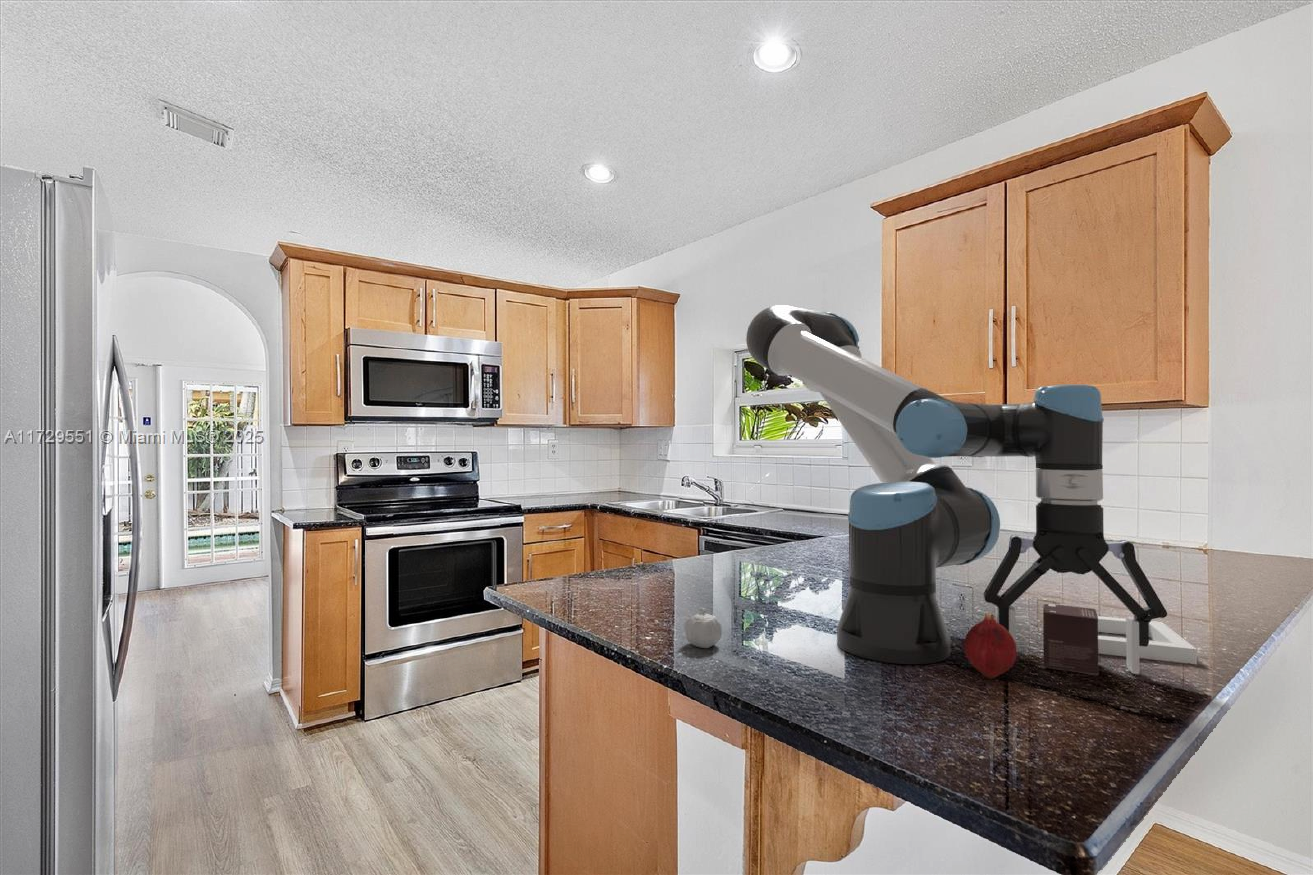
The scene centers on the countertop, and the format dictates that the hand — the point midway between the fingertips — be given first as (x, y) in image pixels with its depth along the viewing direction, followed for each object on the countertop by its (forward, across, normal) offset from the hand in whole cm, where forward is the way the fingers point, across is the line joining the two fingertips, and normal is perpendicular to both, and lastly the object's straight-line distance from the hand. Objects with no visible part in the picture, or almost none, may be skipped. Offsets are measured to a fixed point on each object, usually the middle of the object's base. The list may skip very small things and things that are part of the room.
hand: (1070, 663), depth 85 cm
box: (0, 0, 0) cm, 0 cm away
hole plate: (0, +8, +15) cm, 17 cm away
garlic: (0, -47, -12) cm, 49 cm away
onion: (0, -10, -10) cm, 14 cm away
